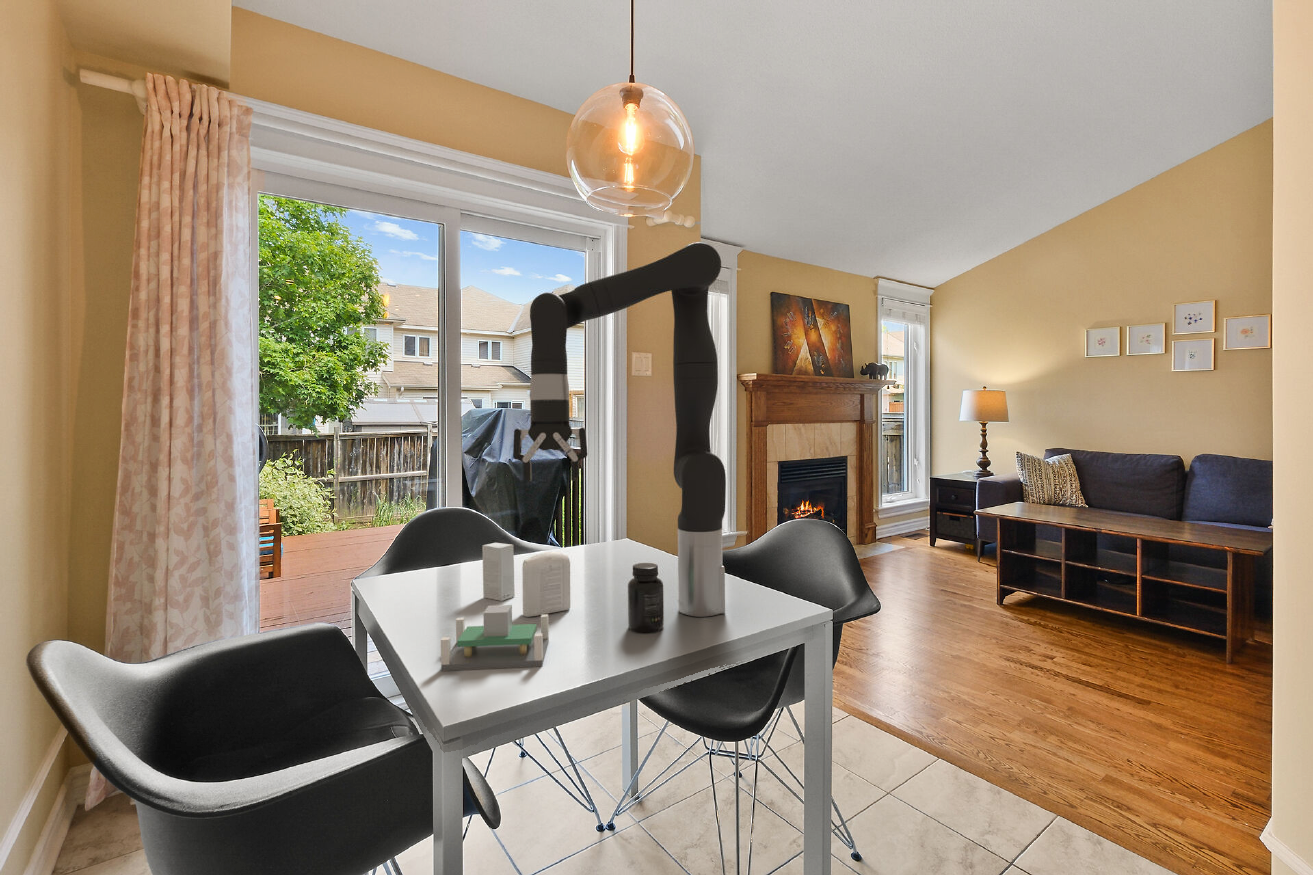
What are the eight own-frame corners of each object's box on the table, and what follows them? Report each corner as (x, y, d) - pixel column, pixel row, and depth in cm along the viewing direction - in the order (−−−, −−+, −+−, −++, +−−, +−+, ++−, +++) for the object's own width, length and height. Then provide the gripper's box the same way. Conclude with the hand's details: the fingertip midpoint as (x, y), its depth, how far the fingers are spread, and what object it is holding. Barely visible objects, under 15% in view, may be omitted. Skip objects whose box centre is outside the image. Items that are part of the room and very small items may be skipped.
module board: (536, 629, 107) (536, 601, 107) (531, 644, 100) (530, 614, 100) (467, 631, 106) (467, 603, 106) (457, 646, 100) (456, 616, 99)
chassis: (548, 641, 110) (548, 614, 109) (542, 666, 99) (541, 635, 98) (458, 645, 108) (457, 617, 108) (441, 670, 97) (440, 639, 97)
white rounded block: (565, 604, 131) (564, 548, 131) (573, 610, 128) (572, 551, 128) (519, 613, 126) (518, 554, 125) (527, 619, 122) (526, 558, 122)
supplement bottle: (667, 622, 119) (666, 562, 119) (659, 634, 112) (658, 570, 112) (633, 620, 121) (633, 560, 120) (623, 632, 114) (622, 568, 114)
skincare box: (515, 596, 138) (514, 544, 138) (501, 601, 134) (500, 548, 134) (496, 593, 141) (495, 541, 141) (482, 597, 138) (481, 545, 137)
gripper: (587, 398, 123) (588, 478, 124) (515, 399, 122) (517, 479, 122) (585, 397, 116) (587, 482, 116) (509, 398, 114) (511, 483, 115)
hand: (551, 480), depth 119 cm, fingers open, 8 cm apart
